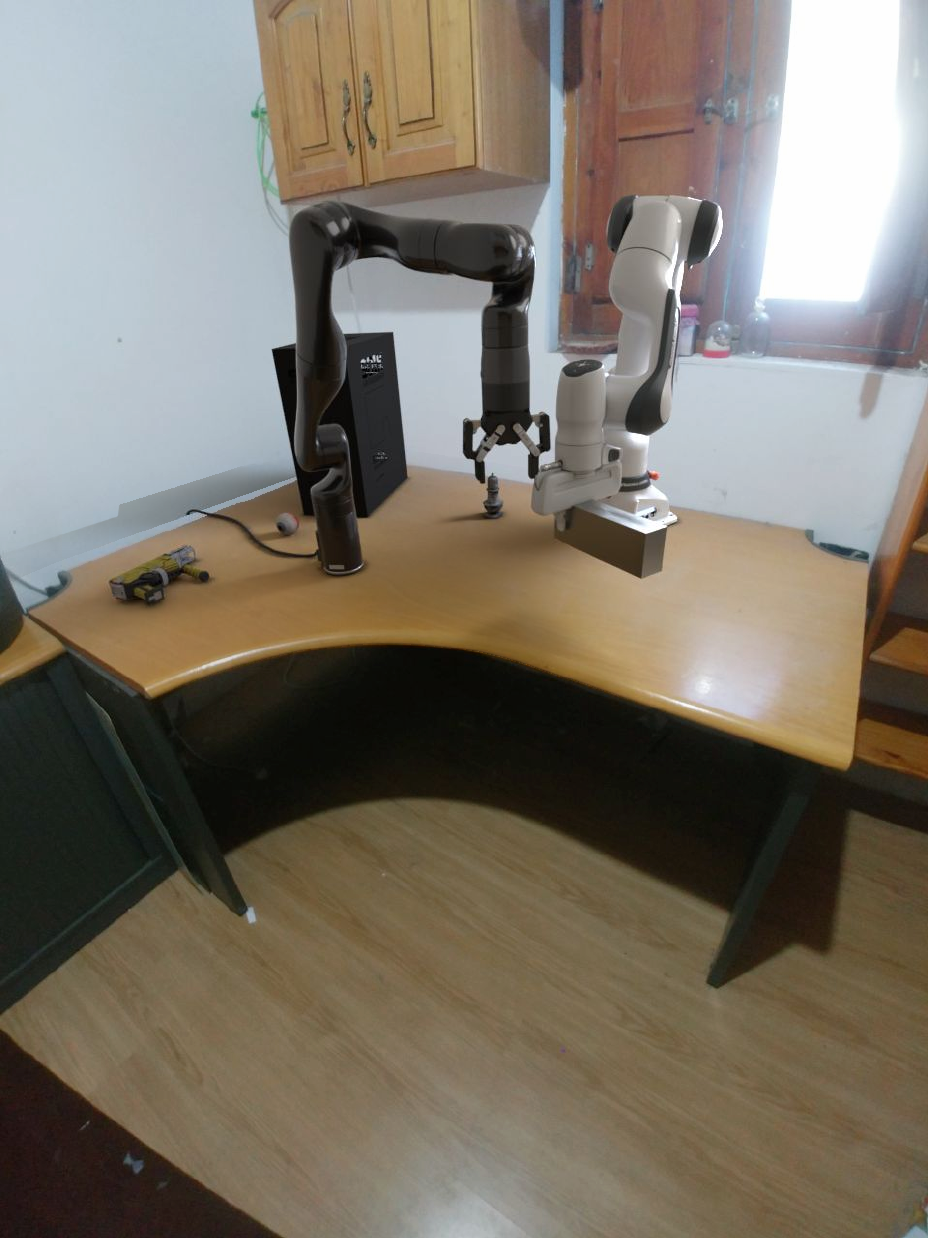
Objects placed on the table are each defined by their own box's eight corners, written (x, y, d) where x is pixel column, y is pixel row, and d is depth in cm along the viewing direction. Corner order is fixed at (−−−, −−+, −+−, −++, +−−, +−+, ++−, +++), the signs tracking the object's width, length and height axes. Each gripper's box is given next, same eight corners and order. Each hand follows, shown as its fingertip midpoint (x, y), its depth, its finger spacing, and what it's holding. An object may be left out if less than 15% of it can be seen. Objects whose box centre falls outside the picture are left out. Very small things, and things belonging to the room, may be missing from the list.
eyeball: (273, 537, 164) (268, 516, 161) (287, 528, 169) (282, 508, 166) (291, 539, 161) (286, 518, 158) (305, 530, 166) (301, 510, 163)
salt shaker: (502, 518, 167) (501, 475, 161) (481, 517, 168) (480, 475, 162) (505, 511, 172) (504, 469, 166) (485, 510, 173) (483, 469, 167)
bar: (553, 538, 122) (554, 498, 118) (573, 532, 124) (575, 492, 120) (641, 579, 104) (645, 533, 100) (661, 571, 107) (667, 526, 103)
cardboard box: (367, 516, 174) (344, 346, 151) (303, 514, 178) (271, 348, 156) (407, 477, 205) (393, 331, 183) (352, 476, 210) (331, 334, 187)
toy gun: (232, 553, 147) (182, 542, 151) (158, 593, 127) (102, 580, 131) (234, 570, 150) (185, 559, 154) (162, 613, 130) (107, 599, 134)
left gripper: (464, 384, 89) (469, 491, 97) (557, 377, 91) (554, 482, 99) (456, 377, 96) (461, 478, 104) (543, 370, 97) (541, 469, 105)
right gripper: (546, 470, 105) (545, 544, 112) (629, 448, 114) (623, 517, 121) (523, 463, 110) (524, 534, 117) (605, 442, 119) (601, 509, 126)
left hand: (507, 480), depth 101 cm, fingers open, 8 cm apart
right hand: (575, 525), depth 119 cm, fingers closed on bar, 5 cm apart
